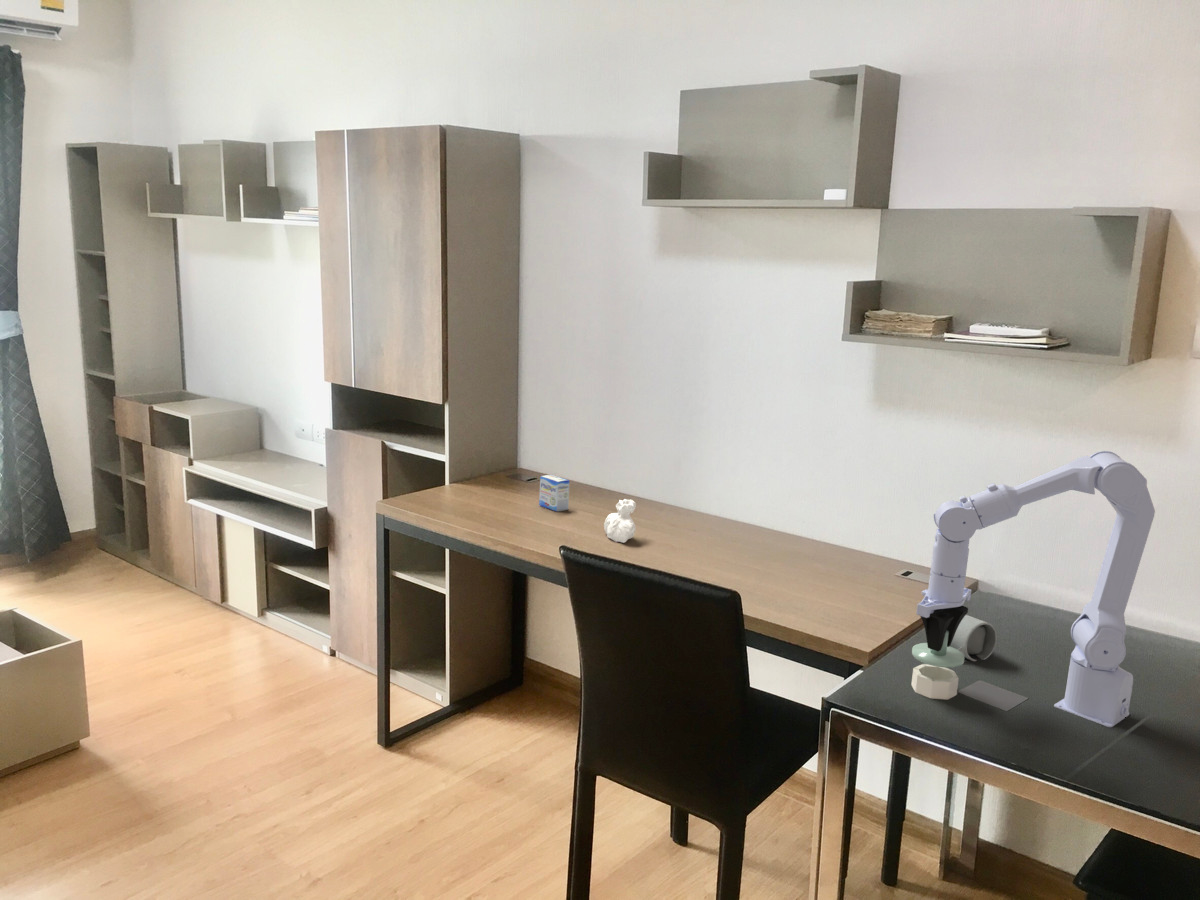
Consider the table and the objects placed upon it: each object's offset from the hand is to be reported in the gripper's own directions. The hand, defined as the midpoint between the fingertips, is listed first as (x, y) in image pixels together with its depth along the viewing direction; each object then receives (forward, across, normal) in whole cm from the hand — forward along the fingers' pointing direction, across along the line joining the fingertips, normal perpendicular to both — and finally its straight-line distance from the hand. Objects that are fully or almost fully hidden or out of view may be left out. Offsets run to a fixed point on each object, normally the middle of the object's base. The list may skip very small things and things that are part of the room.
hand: (938, 647), depth 172 cm
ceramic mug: (+9, -19, -5) cm, 22 cm away
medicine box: (+9, -20, -129) cm, 131 cm away
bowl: (+8, 0, 0) cm, 8 cm away
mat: (+8, -6, +8) cm, 13 cm away
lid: (+2, 0, 0) cm, 2 cm away
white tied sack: (+9, -16, -97) cm, 99 cm away
